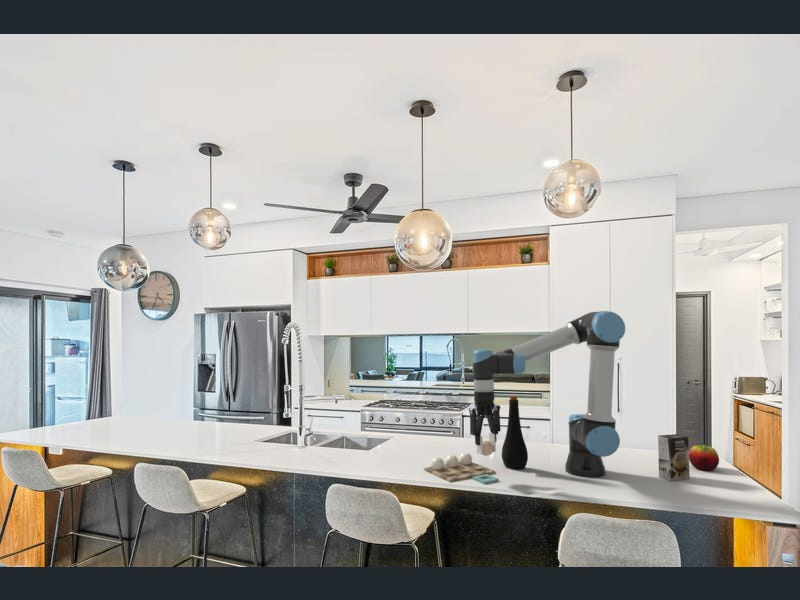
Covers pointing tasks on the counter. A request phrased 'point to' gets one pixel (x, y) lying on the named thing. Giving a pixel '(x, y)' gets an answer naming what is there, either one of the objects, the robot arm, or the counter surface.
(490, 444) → the brown egg
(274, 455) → the counter surface
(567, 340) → the robot arm
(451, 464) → the cream egg
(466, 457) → the cream egg
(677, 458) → the coffee box
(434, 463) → the cream egg
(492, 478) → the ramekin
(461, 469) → the carton
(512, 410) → the bottle
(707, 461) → the fruit
